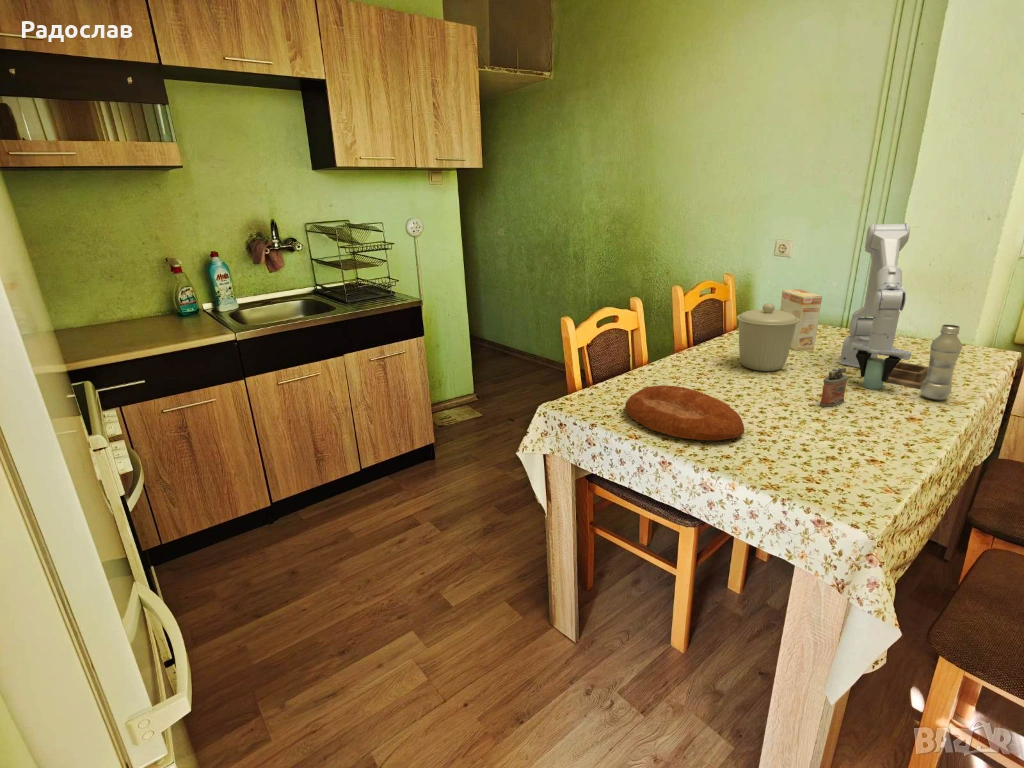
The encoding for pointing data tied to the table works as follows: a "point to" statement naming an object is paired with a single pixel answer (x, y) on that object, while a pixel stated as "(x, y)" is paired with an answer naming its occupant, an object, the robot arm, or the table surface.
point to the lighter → (834, 388)
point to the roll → (874, 373)
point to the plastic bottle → (942, 364)
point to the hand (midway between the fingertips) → (873, 378)
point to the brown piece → (908, 375)
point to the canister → (765, 337)
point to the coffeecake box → (802, 316)
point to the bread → (684, 413)
